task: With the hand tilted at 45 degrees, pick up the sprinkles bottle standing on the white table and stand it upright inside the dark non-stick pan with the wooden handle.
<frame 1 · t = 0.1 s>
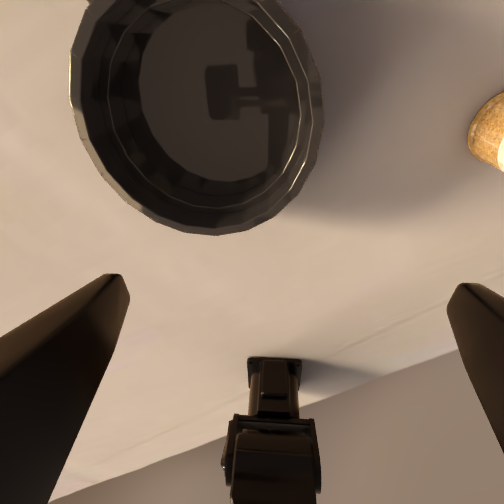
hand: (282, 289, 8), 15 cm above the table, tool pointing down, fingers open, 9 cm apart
sprinkles bottle: (502, 125, 18), on the table
pan: (212, 113, 19), on the table
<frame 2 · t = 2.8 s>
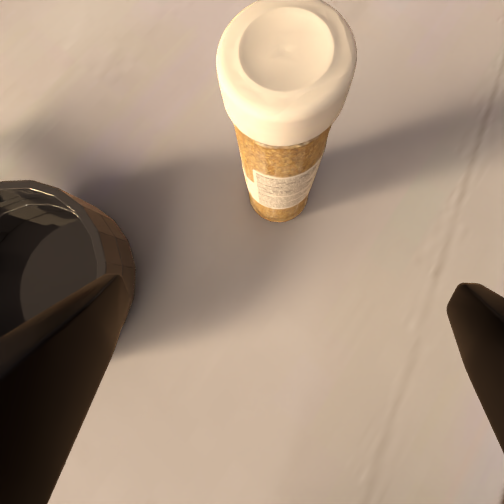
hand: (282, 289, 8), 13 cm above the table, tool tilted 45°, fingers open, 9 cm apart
sprinkles bottle: (278, 196, 22), on the table
pan: (57, 283, 23), on the table
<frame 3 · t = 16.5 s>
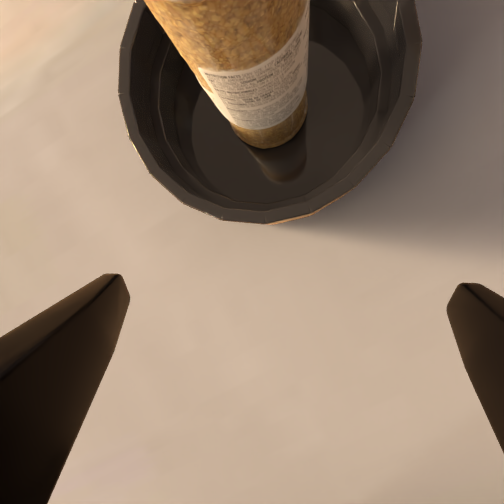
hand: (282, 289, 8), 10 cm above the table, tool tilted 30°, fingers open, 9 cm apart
sprinkles bottle: (268, 111, 17), resting on pan
pan: (268, 110, 17), on the table
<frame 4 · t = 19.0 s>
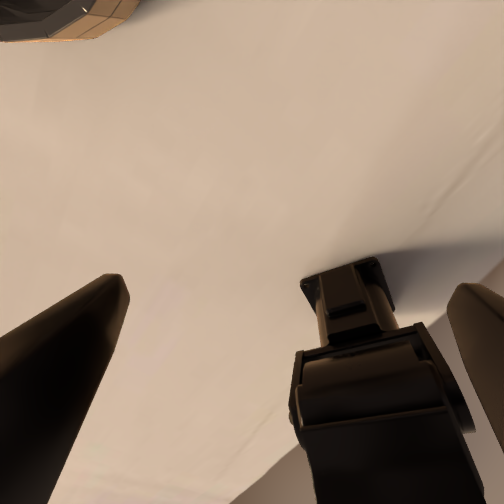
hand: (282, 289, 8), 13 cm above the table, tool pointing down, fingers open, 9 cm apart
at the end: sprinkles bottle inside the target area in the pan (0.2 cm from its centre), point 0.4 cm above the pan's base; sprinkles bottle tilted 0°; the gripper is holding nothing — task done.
